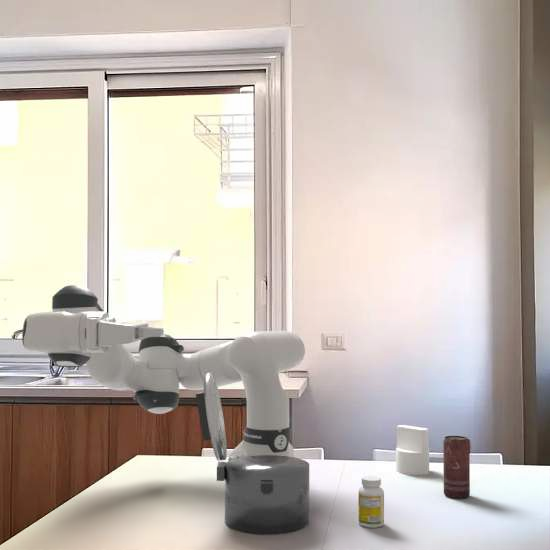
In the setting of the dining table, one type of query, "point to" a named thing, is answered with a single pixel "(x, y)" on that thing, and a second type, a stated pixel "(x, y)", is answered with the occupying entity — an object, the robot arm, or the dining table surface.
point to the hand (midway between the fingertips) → (162, 332)
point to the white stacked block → (412, 450)
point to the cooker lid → (212, 416)
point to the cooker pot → (265, 493)
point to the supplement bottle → (371, 502)
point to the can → (456, 467)
